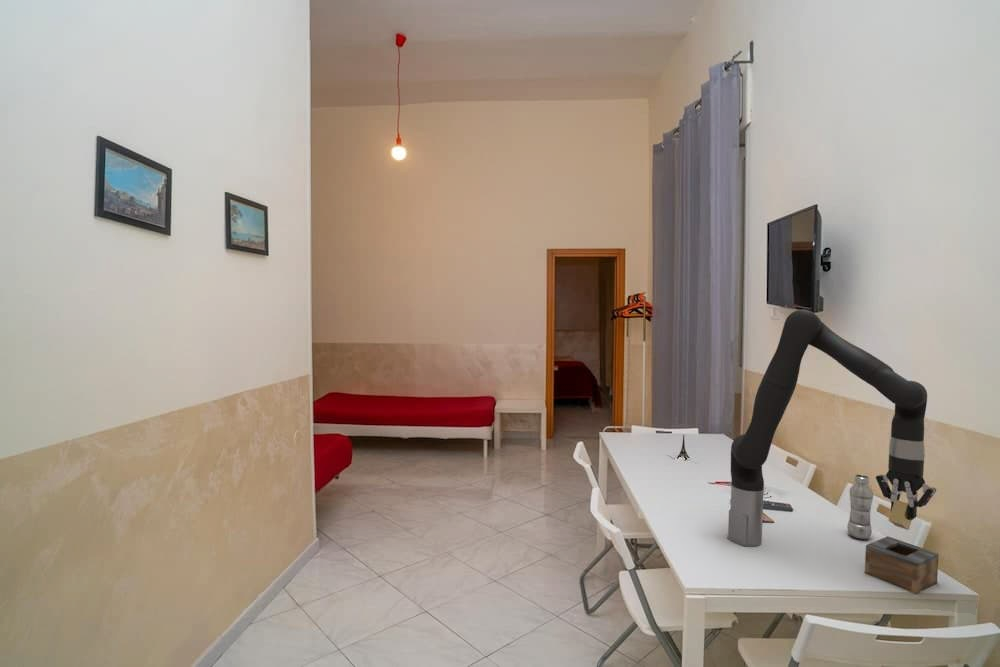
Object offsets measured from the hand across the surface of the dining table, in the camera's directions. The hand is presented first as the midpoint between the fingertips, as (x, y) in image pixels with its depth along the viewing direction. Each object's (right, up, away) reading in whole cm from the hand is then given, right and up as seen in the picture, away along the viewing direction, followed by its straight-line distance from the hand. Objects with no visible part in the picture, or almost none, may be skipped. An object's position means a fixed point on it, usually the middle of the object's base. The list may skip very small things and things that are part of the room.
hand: (903, 517), depth 140 cm
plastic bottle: (+6, -16, +26) cm, 31 cm away
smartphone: (-19, -15, +44) cm, 50 cm away
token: (-2, -2, -1) cm, 3 cm away
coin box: (0, -17, +1) cm, 17 cm away
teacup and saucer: (-7, -15, +68) cm, 70 cm away
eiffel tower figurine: (-20, -12, +114) cm, 116 cm away
